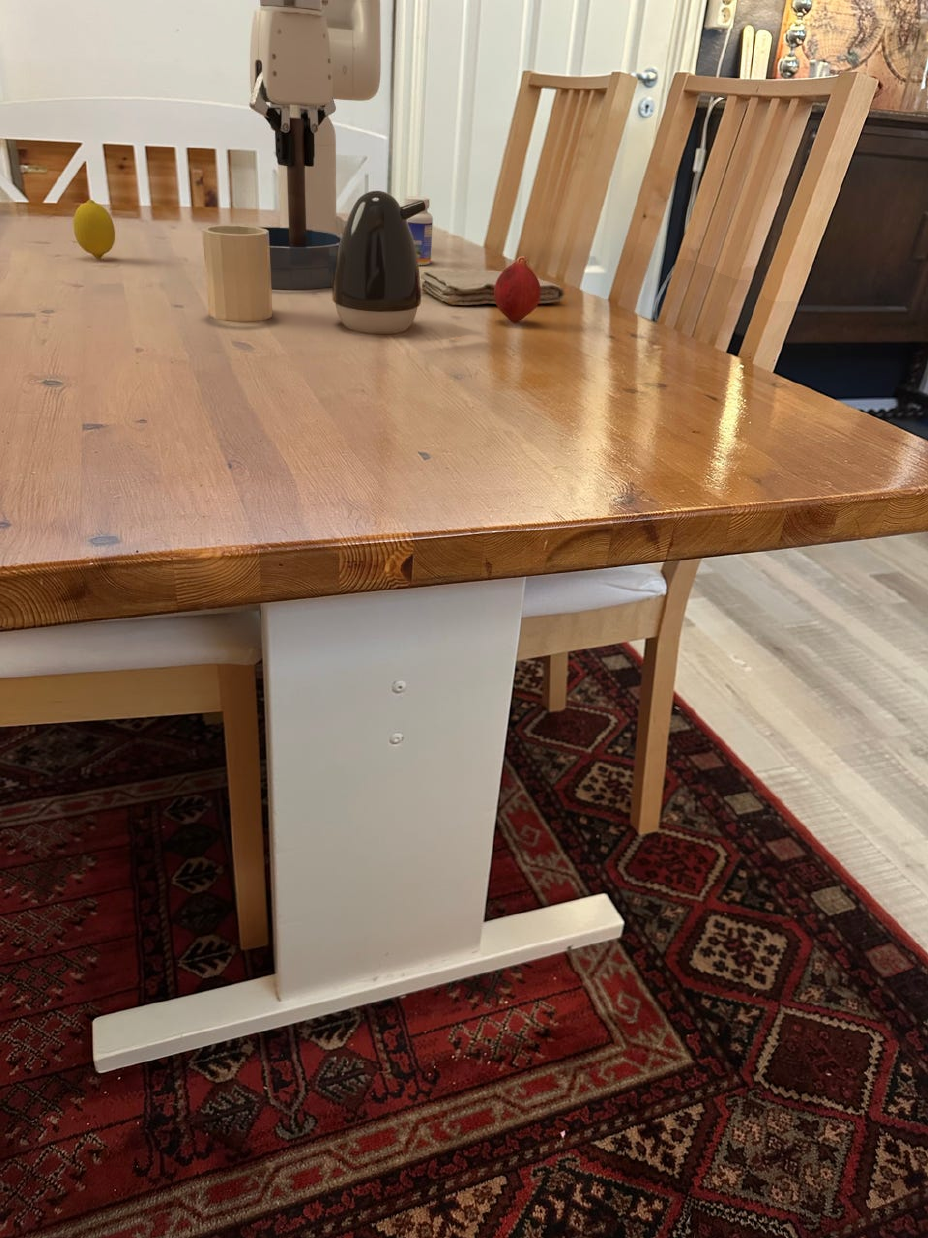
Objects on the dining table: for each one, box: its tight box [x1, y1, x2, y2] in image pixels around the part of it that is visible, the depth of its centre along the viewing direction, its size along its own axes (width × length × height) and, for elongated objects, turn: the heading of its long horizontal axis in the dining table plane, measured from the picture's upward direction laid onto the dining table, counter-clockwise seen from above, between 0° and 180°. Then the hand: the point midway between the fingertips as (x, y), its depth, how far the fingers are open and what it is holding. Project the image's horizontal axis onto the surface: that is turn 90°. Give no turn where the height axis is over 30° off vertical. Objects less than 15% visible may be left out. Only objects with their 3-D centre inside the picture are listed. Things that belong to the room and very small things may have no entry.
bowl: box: [258, 226, 341, 291], centre depth 125 cm, size 18×18×6 cm
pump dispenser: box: [331, 190, 426, 335], centre depth 102 cm, size 10×10×15 cm
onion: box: [494, 255, 541, 324], centre depth 113 cm, size 6×6×8 cm
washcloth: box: [420, 269, 565, 306], centre depth 126 cm, size 12×18×3 cm, turn 111°
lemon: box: [73, 199, 116, 260], centre depth 130 cm, size 6×6×8 cm
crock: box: [201, 224, 273, 323], centre depth 104 cm, size 7×7×10 cm
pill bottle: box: [403, 195, 434, 266], centre depth 144 cm, size 5×5×10 cm
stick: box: [287, 117, 307, 247], centre depth 122 cm, size 2×2×18 cm
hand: (295, 164), depth 121 cm, fingers closed on stick, 2 cm apart
